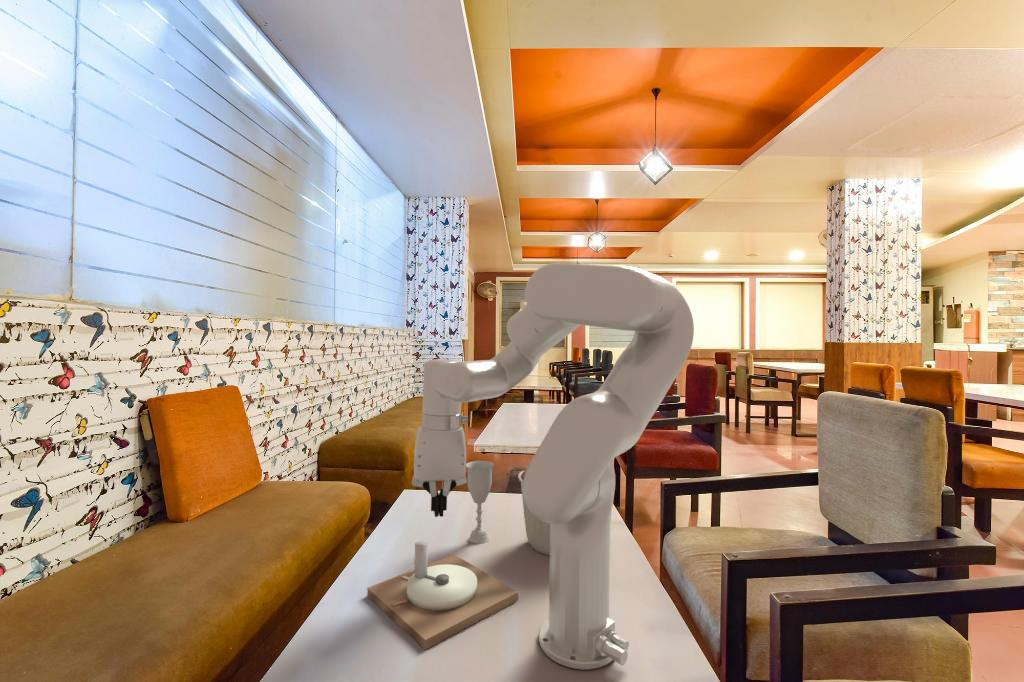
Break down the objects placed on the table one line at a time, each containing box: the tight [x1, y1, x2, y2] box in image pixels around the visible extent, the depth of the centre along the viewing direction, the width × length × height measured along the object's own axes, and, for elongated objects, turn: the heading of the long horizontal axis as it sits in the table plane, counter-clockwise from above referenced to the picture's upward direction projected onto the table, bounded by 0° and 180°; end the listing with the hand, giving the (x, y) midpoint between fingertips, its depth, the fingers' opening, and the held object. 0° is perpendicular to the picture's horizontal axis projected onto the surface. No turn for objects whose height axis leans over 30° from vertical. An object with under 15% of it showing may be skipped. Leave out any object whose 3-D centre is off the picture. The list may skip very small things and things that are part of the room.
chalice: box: [466, 460, 495, 545], centre depth 110 cm, size 7×7×18 cm
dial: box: [407, 540, 477, 610], centre depth 85 cm, size 13×13×8 cm
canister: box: [517, 467, 551, 556], centre depth 107 cm, size 18×18×21 cm
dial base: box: [366, 553, 519, 650], centre depth 85 cm, size 20×20×2 cm
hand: (438, 513), depth 90 cm, fingers closed
